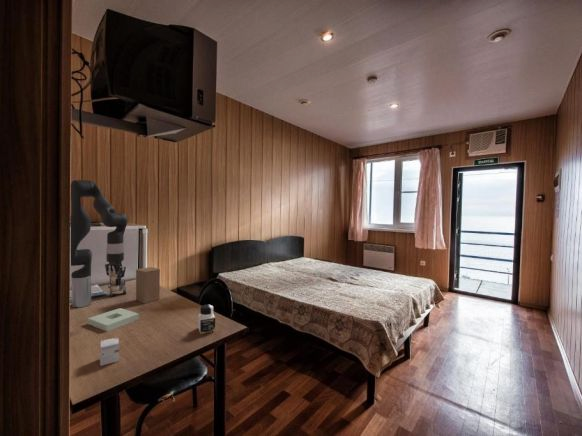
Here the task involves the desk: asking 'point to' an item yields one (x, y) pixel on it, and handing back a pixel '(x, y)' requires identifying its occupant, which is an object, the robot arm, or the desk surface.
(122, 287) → the figurine
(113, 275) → the peg
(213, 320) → the medicine bottle
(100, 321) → the seat board
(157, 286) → the wooden block
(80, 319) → the desk surface
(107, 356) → the skincare box
